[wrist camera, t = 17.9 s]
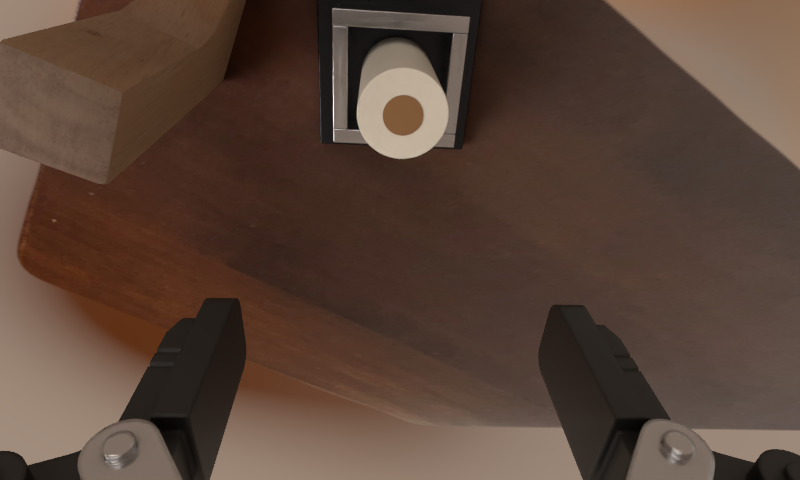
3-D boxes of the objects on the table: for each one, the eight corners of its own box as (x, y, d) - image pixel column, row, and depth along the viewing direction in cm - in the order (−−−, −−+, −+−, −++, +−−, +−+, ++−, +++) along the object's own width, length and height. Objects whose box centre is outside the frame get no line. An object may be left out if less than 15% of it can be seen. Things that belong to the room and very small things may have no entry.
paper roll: (362, 34, 33) (357, 65, 25) (434, 39, 34) (454, 70, 25) (360, 107, 36) (355, 157, 27) (427, 110, 36) (444, 161, 28)
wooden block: (189, -79, 30) (-1, -104, 15) (259, -43, 32) (148, -33, 16) (159, 57, 34) (-15, 147, 19) (222, 85, 36) (106, 190, 20)
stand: (318, -20, 32) (311, -16, 29) (480, -9, 33) (492, -4, 30) (321, 139, 38) (316, 158, 35) (460, 145, 39) (468, 164, 35)
